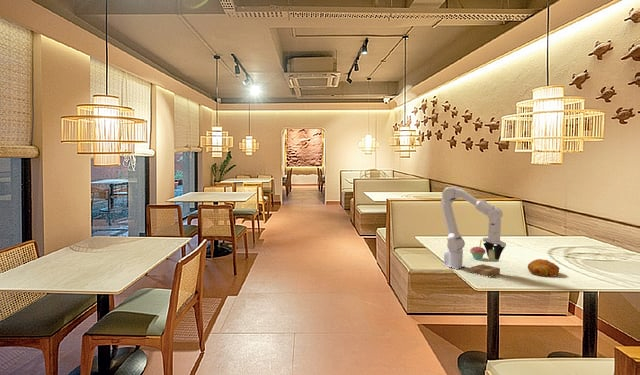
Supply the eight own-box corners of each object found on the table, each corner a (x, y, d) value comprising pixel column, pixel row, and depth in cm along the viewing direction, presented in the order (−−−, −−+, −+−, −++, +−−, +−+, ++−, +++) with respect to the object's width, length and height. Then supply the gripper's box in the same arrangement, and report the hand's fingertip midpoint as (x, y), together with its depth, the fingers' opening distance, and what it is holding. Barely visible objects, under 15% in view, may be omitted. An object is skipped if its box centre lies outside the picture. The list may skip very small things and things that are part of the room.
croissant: (523, 277, 217) (522, 262, 216) (534, 267, 228) (533, 253, 227) (554, 282, 207) (553, 267, 206) (563, 272, 218) (563, 257, 216)
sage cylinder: (486, 260, 217) (486, 249, 216) (493, 259, 219) (493, 248, 219) (493, 262, 212) (494, 251, 212) (500, 261, 215) (501, 250, 214)
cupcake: (481, 257, 252) (482, 237, 251) (487, 260, 244) (488, 240, 243) (467, 257, 252) (468, 237, 251) (473, 260, 243) (473, 240, 242)
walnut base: (471, 272, 218) (471, 267, 218) (482, 269, 224) (482, 264, 223) (488, 277, 210) (488, 271, 210) (499, 273, 216) (500, 268, 215)
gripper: (478, 229, 220) (477, 255, 221) (498, 234, 206) (497, 261, 207) (489, 229, 222) (488, 254, 223) (509, 234, 209) (508, 260, 210)
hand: (493, 257), depth 216 cm, fingers closed on sage cylinder, 5 cm apart
